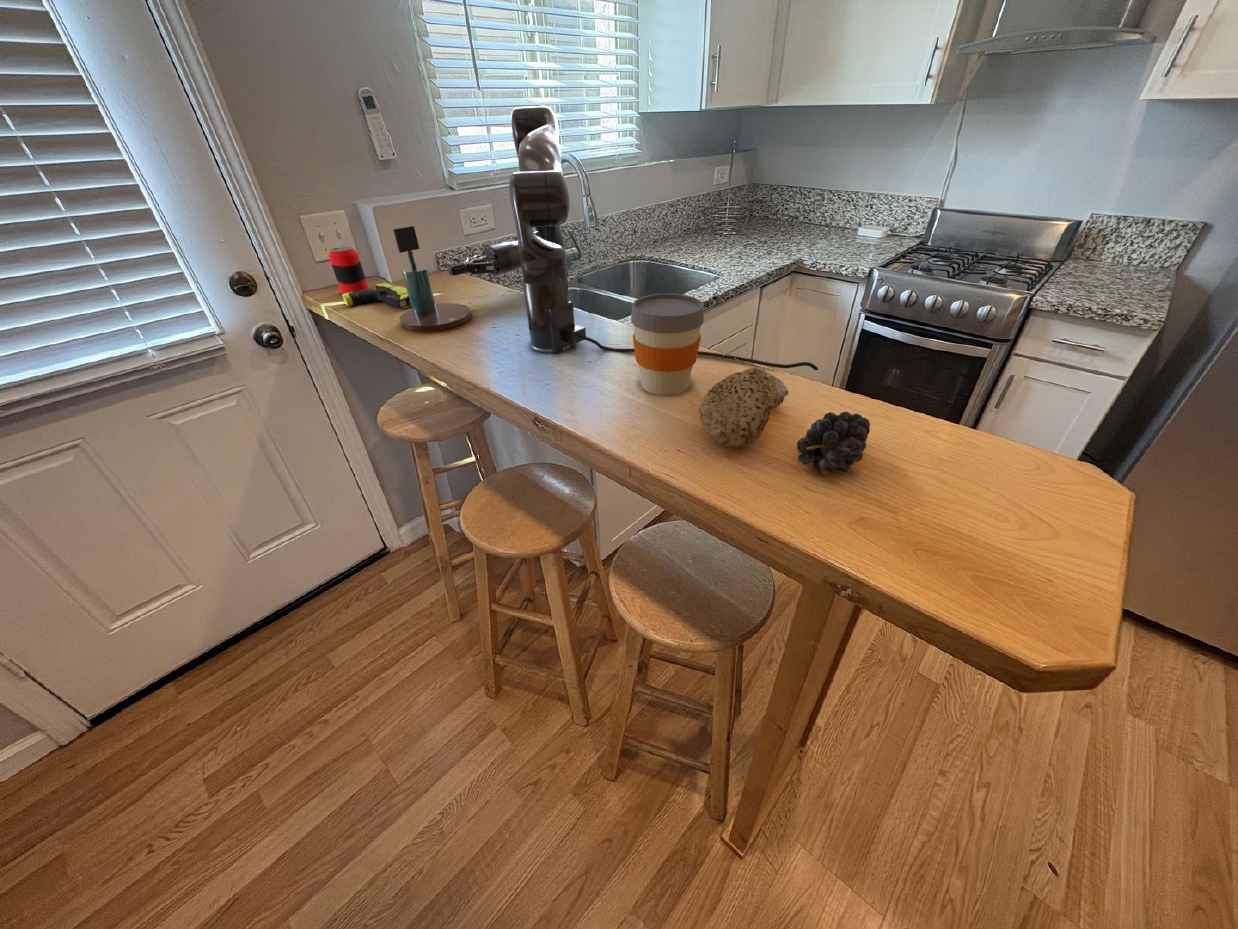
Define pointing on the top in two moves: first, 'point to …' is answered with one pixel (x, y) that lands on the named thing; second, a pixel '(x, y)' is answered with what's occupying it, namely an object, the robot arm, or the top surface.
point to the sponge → (741, 406)
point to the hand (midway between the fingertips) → (450, 271)
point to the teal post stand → (424, 293)
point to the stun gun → (380, 296)
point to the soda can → (348, 269)
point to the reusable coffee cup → (666, 340)
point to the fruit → (834, 442)
